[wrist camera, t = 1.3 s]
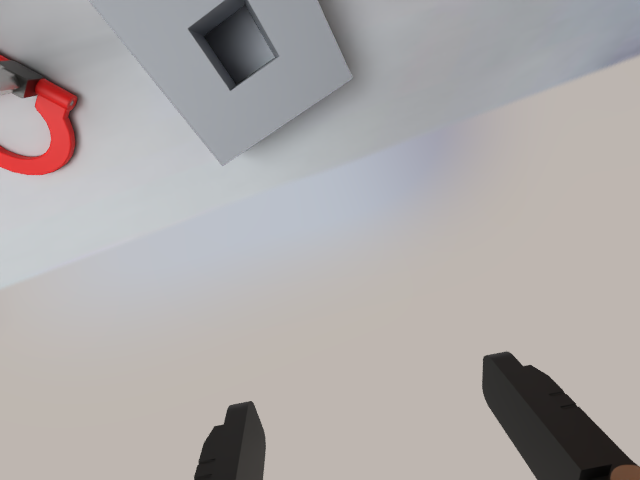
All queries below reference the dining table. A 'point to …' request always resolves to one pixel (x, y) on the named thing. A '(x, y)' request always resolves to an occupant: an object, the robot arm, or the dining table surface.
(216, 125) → the slate block
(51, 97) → the tow hook
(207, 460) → the robot arm
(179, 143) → the dining table surface
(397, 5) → the dining table surface
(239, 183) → the dining table surface
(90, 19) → the dining table surface
